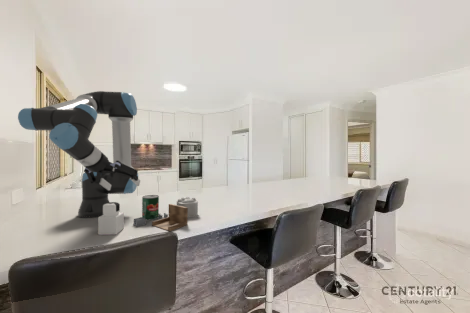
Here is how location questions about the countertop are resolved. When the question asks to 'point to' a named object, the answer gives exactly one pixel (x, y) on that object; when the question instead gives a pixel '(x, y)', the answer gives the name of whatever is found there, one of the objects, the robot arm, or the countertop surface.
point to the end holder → (173, 218)
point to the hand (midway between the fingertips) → (124, 185)
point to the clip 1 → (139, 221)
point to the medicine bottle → (111, 219)
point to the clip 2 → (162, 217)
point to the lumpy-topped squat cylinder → (189, 205)
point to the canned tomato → (150, 207)
